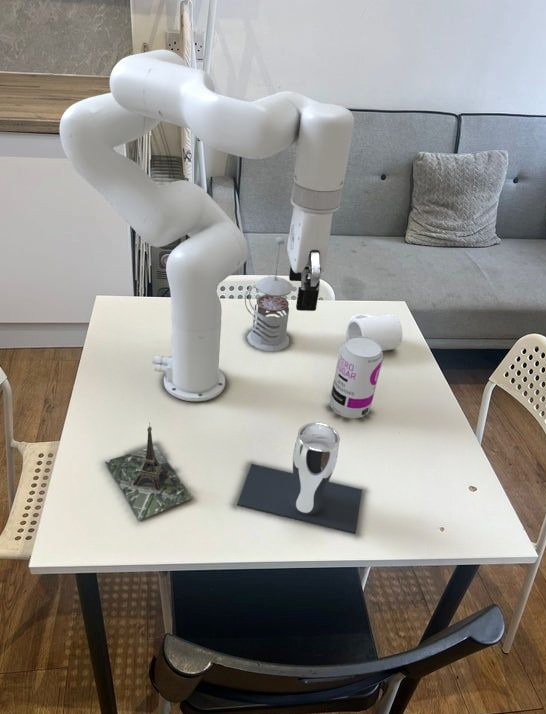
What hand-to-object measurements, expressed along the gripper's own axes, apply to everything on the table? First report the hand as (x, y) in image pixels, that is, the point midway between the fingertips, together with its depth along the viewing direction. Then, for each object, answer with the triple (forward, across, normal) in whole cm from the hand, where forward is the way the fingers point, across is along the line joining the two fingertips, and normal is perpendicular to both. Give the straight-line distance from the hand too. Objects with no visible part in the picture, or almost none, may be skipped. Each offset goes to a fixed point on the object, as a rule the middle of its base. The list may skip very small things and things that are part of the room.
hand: (301, 294), depth 106 cm
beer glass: (+28, +21, +2) cm, 35 cm away
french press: (+28, -30, -1) cm, 41 cm away
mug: (+28, -28, +23) cm, 46 cm away
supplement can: (+28, -5, +14) cm, 32 cm away
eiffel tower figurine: (+28, +16, -25) cm, 41 cm away
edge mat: (+28, +20, +1) cm, 35 cm away
